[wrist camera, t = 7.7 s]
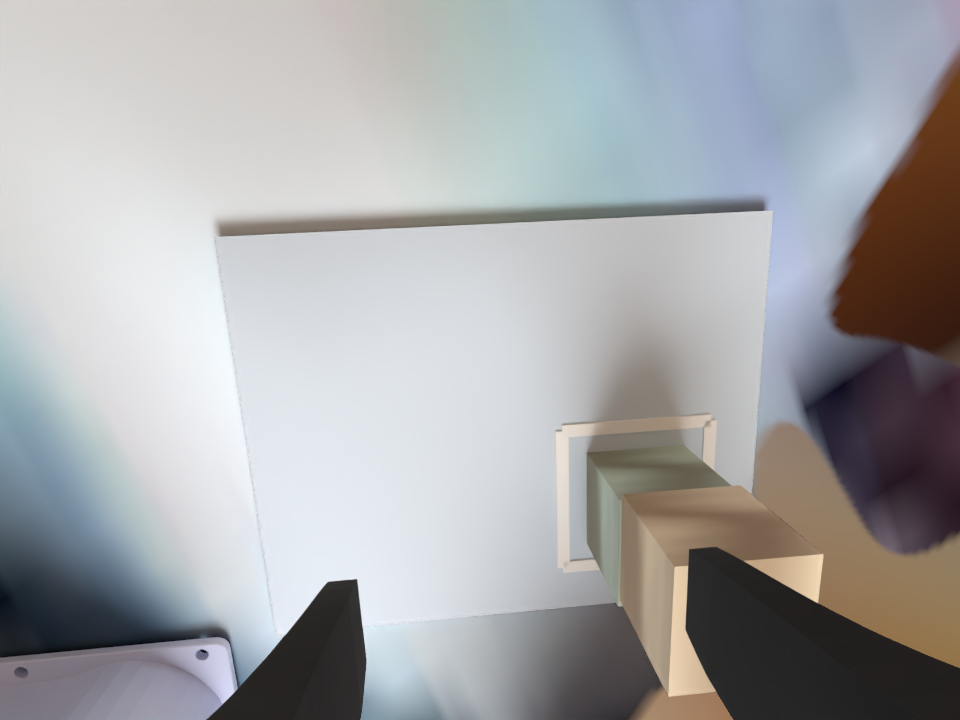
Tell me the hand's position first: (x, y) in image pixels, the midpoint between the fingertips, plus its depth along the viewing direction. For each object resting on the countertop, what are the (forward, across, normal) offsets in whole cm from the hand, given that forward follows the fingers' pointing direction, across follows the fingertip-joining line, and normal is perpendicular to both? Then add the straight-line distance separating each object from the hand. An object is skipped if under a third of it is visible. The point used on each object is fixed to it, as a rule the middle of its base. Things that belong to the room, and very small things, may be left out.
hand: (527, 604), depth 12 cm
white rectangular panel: (+10, -1, 0) cm, 10 cm away
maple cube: (+6, -6, +3) cm, 9 cm away
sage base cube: (+10, -6, +3) cm, 12 cm away
